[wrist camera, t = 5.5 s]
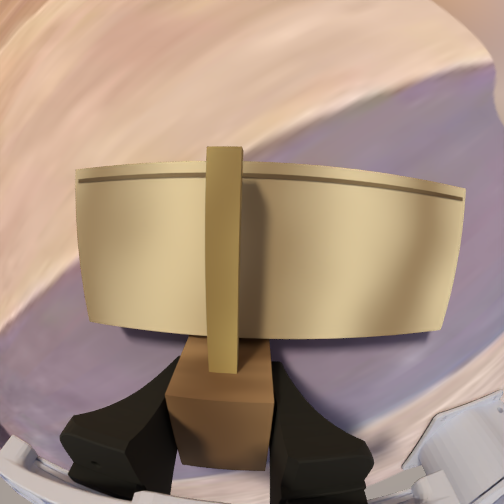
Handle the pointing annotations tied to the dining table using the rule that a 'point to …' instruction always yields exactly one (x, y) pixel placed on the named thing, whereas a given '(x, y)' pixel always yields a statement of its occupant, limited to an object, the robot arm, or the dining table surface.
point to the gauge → (222, 346)
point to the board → (271, 249)
